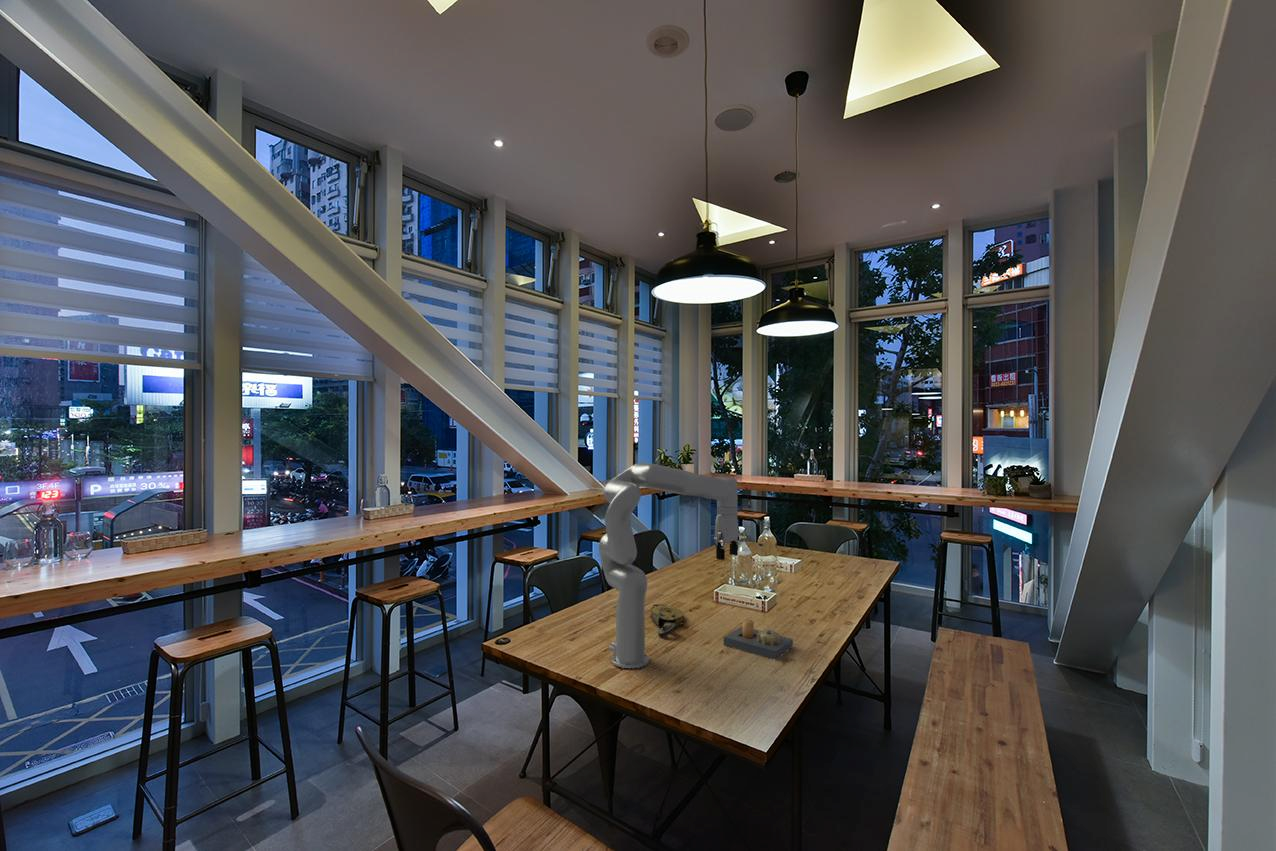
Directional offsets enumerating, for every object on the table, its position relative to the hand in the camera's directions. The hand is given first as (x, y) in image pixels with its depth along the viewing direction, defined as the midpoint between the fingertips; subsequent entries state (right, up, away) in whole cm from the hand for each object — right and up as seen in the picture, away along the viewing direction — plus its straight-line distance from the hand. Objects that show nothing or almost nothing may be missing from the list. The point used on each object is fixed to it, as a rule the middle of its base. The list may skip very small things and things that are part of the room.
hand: (727, 557), depth 199 cm
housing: (+10, -30, -7) cm, 33 cm away
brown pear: (+7, -30, -5) cm, 31 cm away
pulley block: (-22, -31, +13) cm, 40 cm away
